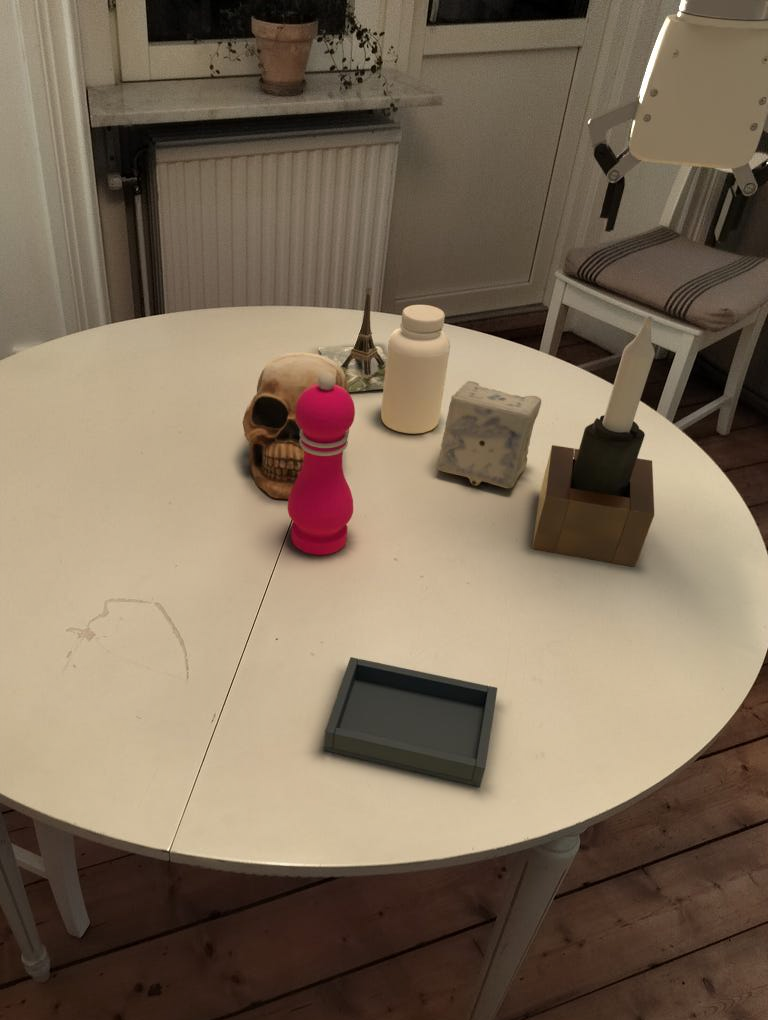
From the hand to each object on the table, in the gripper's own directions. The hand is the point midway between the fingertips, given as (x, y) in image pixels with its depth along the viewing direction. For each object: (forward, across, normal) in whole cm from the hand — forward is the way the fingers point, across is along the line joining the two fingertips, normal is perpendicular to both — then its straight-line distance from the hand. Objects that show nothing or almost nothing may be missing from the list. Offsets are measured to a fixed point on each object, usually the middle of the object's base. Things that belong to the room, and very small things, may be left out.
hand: (663, 233), depth 78 cm
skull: (+33, +35, -5) cm, 48 cm away
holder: (+32, -1, 0) cm, 33 cm away
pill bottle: (+33, +23, -19) cm, 44 cm away
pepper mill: (+33, +28, +11) cm, 44 cm away
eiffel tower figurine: (+33, +33, -32) cm, 56 cm away
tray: (+32, +13, +36) cm, 50 cm away
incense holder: (+33, +12, -9) cm, 36 cm away
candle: (+33, -1, 0) cm, 33 cm away
